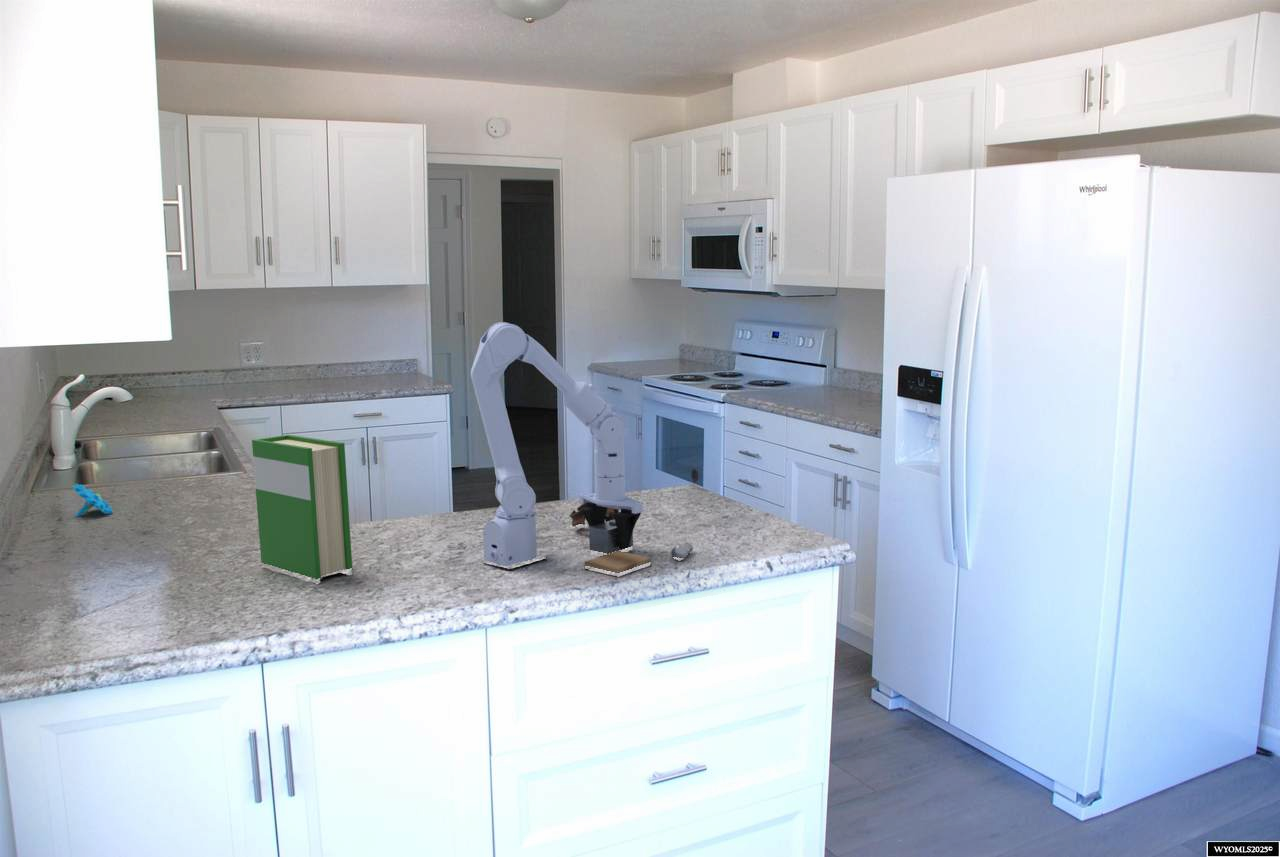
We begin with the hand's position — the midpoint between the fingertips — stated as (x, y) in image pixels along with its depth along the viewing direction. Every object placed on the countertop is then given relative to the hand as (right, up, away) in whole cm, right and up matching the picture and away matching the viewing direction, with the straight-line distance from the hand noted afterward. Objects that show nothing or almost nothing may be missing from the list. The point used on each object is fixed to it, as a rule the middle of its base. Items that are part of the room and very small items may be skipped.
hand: (611, 545), depth 192 cm
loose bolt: (+14, -2, -4) cm, 14 cm away
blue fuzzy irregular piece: (-121, +2, +41) cm, 128 cm away
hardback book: (-55, -4, -8) cm, 56 cm away
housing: (0, -2, 0) cm, 2 cm away
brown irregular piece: (-3, +1, +17) cm, 17 cm away
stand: (+1, -3, -10) cm, 11 cm away
